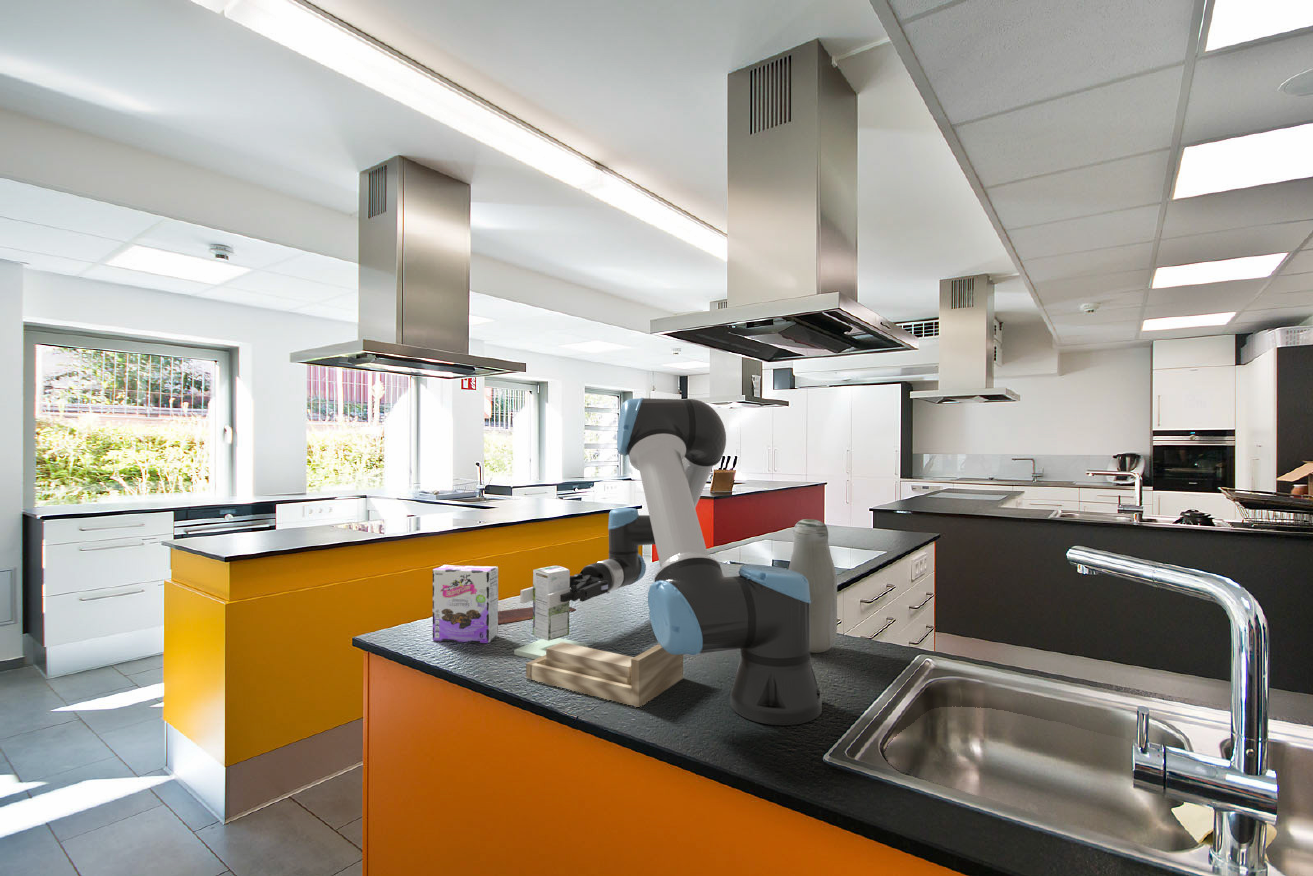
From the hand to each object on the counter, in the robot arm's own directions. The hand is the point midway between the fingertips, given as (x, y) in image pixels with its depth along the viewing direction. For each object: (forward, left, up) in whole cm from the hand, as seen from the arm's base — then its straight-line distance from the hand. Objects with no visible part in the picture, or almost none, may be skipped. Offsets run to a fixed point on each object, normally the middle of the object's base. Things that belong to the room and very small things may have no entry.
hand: (535, 599), depth 129 cm
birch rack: (-18, -8, -12) cm, 23 cm away
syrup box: (+3, -4, -9) cm, 11 cm away
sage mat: (+2, -4, -12) cm, 13 cm away
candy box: (+21, +10, -12) cm, 26 cm away
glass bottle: (-25, -53, -12) cm, 60 cm away
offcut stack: (-19, -5, -12) cm, 24 cm away
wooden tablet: (+33, -8, -13) cm, 37 cm away
